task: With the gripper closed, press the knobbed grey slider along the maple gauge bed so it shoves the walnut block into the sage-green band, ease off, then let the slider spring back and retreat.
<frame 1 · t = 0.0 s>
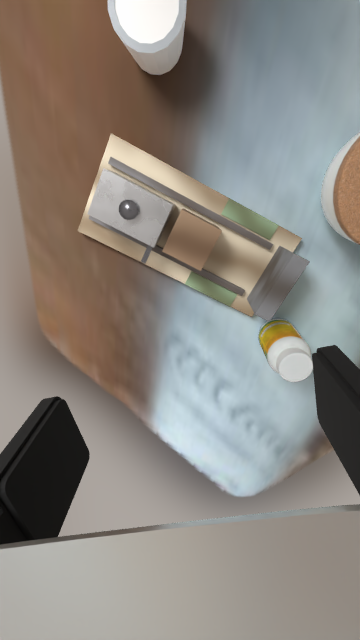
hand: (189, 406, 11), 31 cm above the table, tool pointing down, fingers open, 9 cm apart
walnut block: (191, 236, 38), point 1 cm above the table, touching gauge bed
lidded bowl: (357, 187, 36), on the table
knobbed grey slider: (129, 219, 34), point 4 cm above the table, slide at 0.0 cm
supplement bottle: (275, 333, 44), on the table
gauge bed: (188, 233, 39), on the table
shot glass: (156, 43, 32), on the table
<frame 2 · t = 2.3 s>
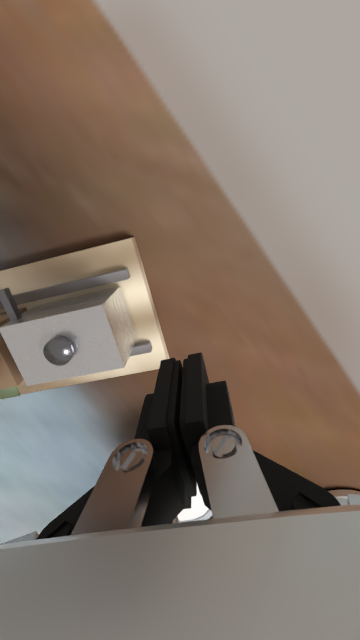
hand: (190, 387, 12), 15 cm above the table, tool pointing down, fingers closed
walnut block: (12, 337, 27), point 1 cm above the table, touching gauge bed
knobbed grey slider: (68, 322, 23), point 4 cm above the table, slide at 0.0 cm
gauge bed: (24, 331, 28), on the table
shot glass: (184, 439, 32), on the table
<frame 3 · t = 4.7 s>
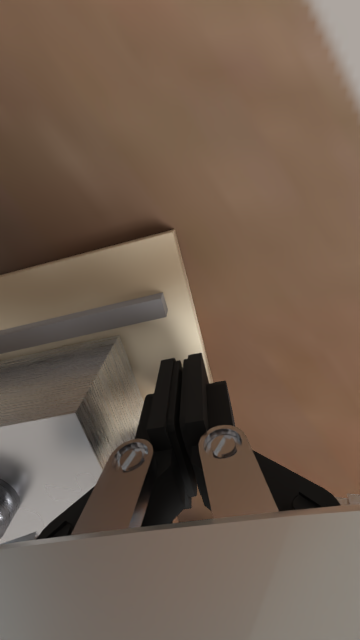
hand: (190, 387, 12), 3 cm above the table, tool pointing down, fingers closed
knobbed grey slider: (10, 421, 11), point 4 cm above the table, slide at 1.3 cm, touching gripper, walnut block
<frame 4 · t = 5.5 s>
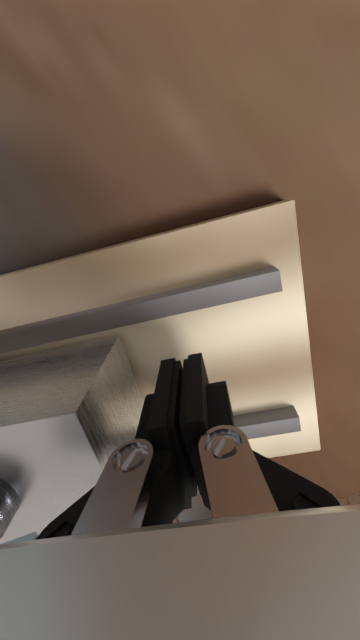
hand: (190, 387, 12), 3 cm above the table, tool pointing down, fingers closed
knobbed grey slider: (10, 421, 11), point 4 cm above the table, slide at 5.8 cm, touching gripper, walnut block
gauge bed: (48, 385, 16), on the table
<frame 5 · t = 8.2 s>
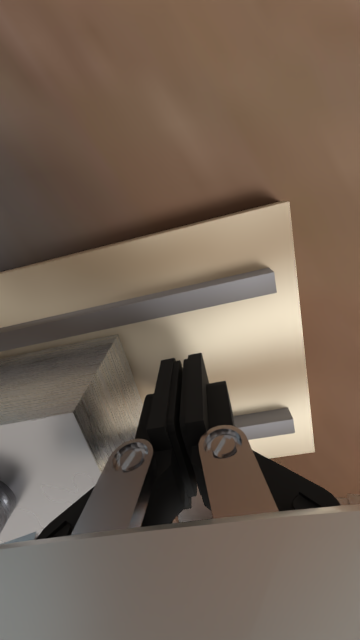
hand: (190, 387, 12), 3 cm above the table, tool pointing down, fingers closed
knobbed grey slider: (7, 420, 11), point 4 cm above the table, slide at 5.6 cm, touching gripper
gauge bed: (42, 384, 15), on the table
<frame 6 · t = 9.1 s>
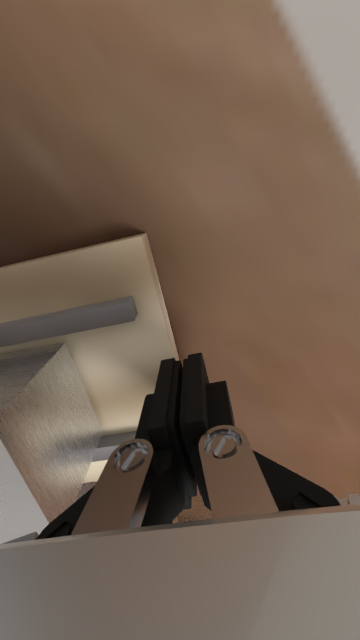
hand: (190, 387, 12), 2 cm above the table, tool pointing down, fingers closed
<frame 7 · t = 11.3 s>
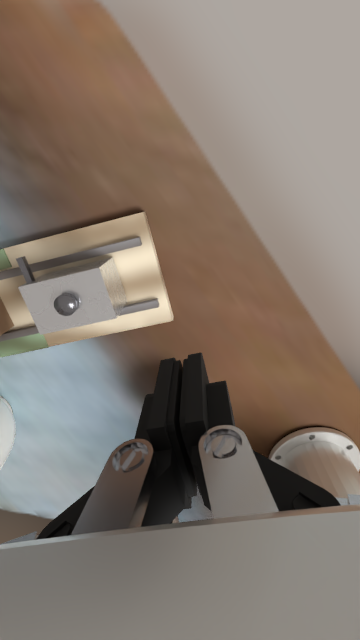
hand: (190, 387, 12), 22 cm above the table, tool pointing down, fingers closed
knobbed grey slider: (71, 284, 29), point 4 cm above the table, slide at 2.3 cm
gauge bed: (52, 292, 34), on the table
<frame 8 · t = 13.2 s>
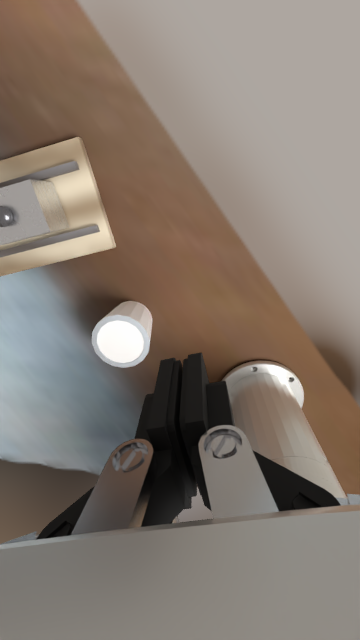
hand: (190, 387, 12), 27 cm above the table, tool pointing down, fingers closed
knobbed grey slider: (11, 203, 31), point 4 cm above the table, slide at 2.3 cm
gauge bed: (2, 223, 36), on the table
shot glass: (132, 319, 41), on the table
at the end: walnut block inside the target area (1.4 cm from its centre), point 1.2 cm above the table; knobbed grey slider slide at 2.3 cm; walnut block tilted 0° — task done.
